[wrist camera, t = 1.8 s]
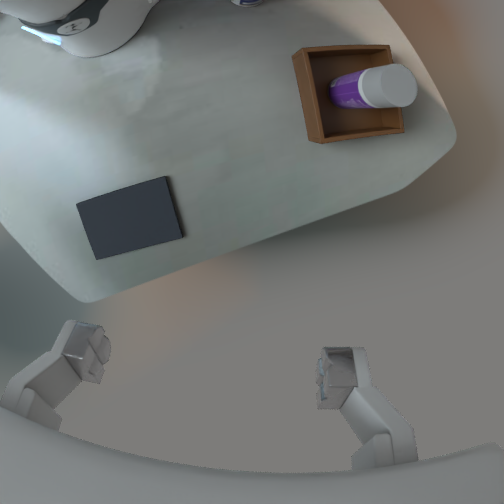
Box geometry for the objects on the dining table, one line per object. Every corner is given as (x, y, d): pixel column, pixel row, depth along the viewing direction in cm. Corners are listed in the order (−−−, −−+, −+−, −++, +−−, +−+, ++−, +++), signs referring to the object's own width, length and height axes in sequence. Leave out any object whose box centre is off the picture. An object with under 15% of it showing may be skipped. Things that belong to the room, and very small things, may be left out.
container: (328, 109, 39) (381, 107, 26) (325, 76, 38) (376, 60, 24) (359, 108, 40) (420, 109, 26) (356, 77, 38) (416, 64, 24)
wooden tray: (291, 56, 36) (301, 47, 32) (371, 51, 37) (389, 44, 32) (308, 140, 41) (321, 143, 36) (385, 129, 42) (404, 132, 37)
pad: (77, 203, 41) (75, 204, 40) (165, 175, 41) (164, 176, 41) (97, 258, 45) (96, 260, 44) (182, 236, 45) (182, 237, 44)
